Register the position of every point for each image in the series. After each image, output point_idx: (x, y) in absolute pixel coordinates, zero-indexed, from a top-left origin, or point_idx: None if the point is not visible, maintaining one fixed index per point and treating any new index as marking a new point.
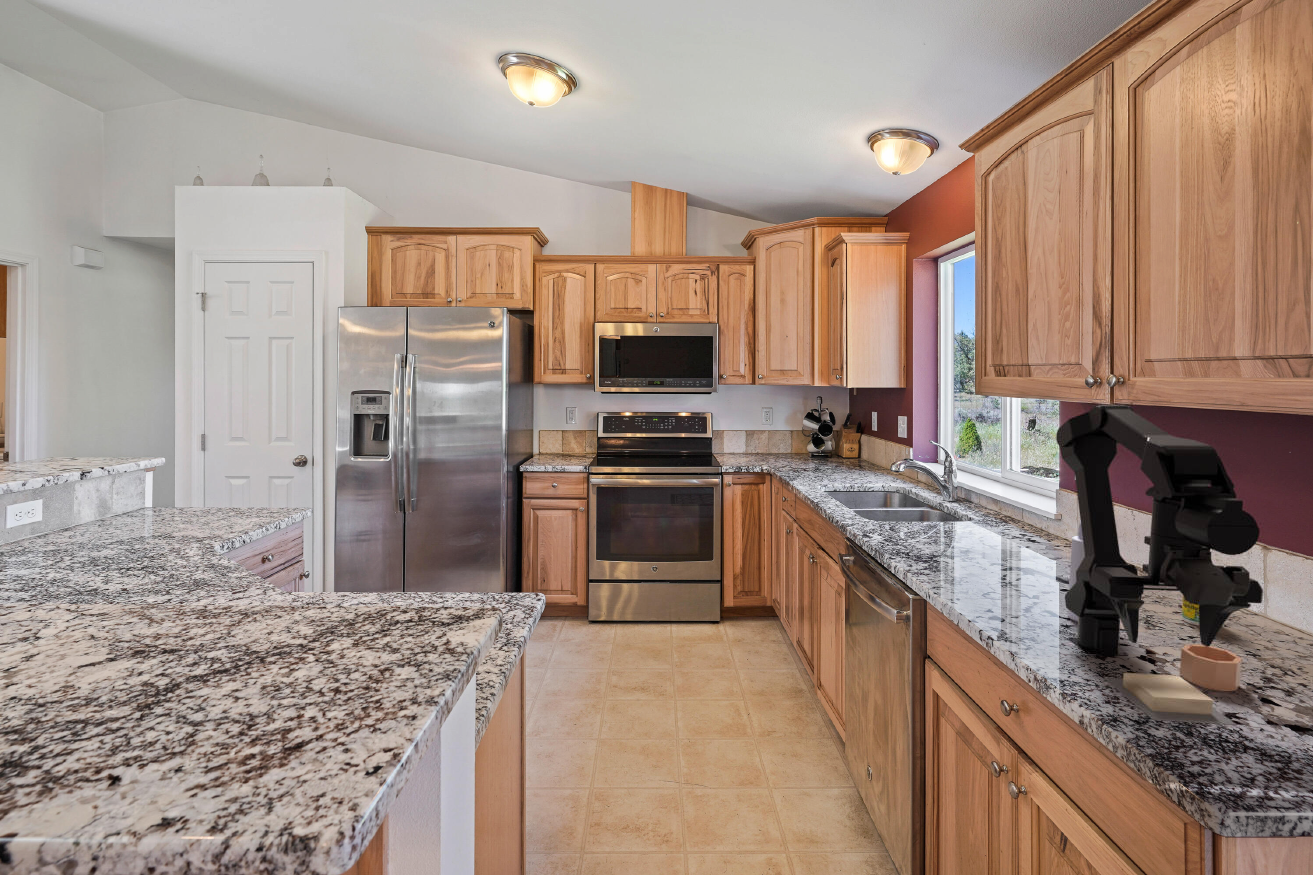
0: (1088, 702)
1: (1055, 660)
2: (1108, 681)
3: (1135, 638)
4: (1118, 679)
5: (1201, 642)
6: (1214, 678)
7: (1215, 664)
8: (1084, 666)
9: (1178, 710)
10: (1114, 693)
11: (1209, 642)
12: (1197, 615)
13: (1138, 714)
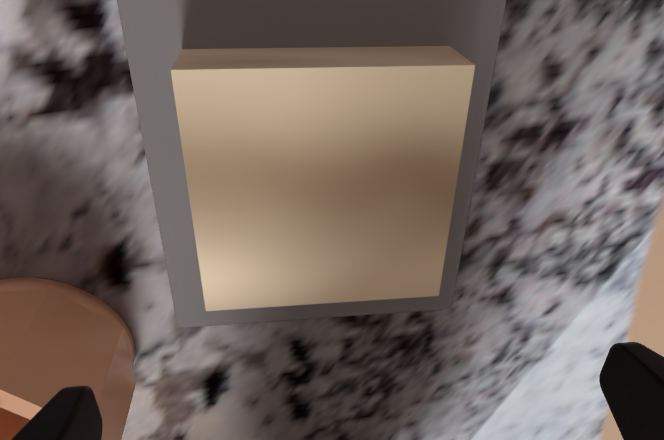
0: (641, 117)
1: (509, 406)
2: (455, 282)
3: (657, 366)
4: (404, 304)
5: (100, 431)
6: (35, 323)
7: (6, 379)
8: (439, 386)
9: (339, 48)
10: (475, 210)
11: (56, 412)
12: None
13: (509, 33)
